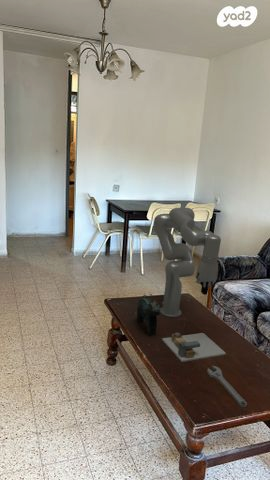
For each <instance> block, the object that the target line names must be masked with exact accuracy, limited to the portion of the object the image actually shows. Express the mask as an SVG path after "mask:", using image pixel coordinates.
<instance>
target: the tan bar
mask: <svg viewBox="0 0 270 480" xmlns="http://www.w3.org/2000/svg"><path fill="white" fill-rule="evenodd" d="M182 336H183V335H181V333H180V332H174V333H172V334H171V337H172V338H171V339H172V340H173V341H174V342H175V344H176V345H177V346H178V348H179V343H185V342H186V341H185V340H184V338H183V337H182ZM194 355H195V351H194V350H193V349H192V348H190V349H186V353H185V356H186V357H194Z"/></svg>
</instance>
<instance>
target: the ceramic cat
mask: <svg viewBox="0 0 270 480" xmlns="http://www.w3.org/2000/svg"><path fill="white" fill-rule="evenodd" d="M149 296H150V297H151V299H149V297H148V295H146V294H143V296H142V297H141V298H140V299H139V301H138V303H137V304H138V305H137V309H136V311H137V313H136V320H137V322H138V323H143V322H144V321H145V322H146V327H147V329H146V333H147V334H148V335H149V336H156V334H157V328H158V327H157V325H158V324H157V323H158V321H157V316H160V315H161V313H160V309H161V306H160V304H159V302H156V300H152V299H153V294H152V293H150V294H149Z"/></svg>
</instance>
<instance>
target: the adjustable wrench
mask: <svg viewBox="0 0 270 480" xmlns="http://www.w3.org/2000/svg"><path fill="white" fill-rule="evenodd" d="M213 370H214V371H213ZM206 372H207V375H208V376H209V377H210V378H211V379H212V378H213V379H215V380H217V381H218V382H219V383H220V384H221V386H223V388H224V389H225V390H226V391H227V392H228V394H229V395H230V396H231V397H232V398H233V399H234V400H235V402H236V403H237V404H238V405H239V406H240V407H241V408H247V401H246V400H245V399H244V398H243V397H242V396H241V395H240V394H239V393H238V392H237V391H236V389H234V387H233V386H232V385H231V384H230V383H229V382H228V381H227V380H226V379H225V377H224V376H223V372H222V370H221V368H220V367H218V366H216V365H212V366H211V369H210V368H209V367H208V368H207V370H206Z"/></svg>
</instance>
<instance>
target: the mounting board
mask: <svg viewBox="0 0 270 480" xmlns="http://www.w3.org/2000/svg"><path fill="white" fill-rule="evenodd" d="M181 336H182V337H183V338H184V340H185V341H186V342H185V343H179V348H178V346H177V345H176V344H175V342H174V341H173V340H172V339H171V338H172V336H171V337H162V338H161V341H162V342H163V343H164V344H165V345H166V346H167V347H168V348H169V350H171V352H172V353H173V354H174V355H175V356H176V358H178V360H179V361H180V362H181V363H185V362H190V361H196V360H202V359H208V358H209V359H210V358H213V357H219V356H224V355H226V352H225V351H224V350H223V349H222V348H221V347H220V346H219V345H218V344H216V343H215V342H214V341H213V340H212V339H211V338H210V337H208V336H207V335H206V334H205V333H204V332H199V333H194V334H193V333H192V334H184V335H181ZM190 348H192V349H193V350H194V351H195V355H194V357H186V356H185V353H186V349H190Z"/></svg>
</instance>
